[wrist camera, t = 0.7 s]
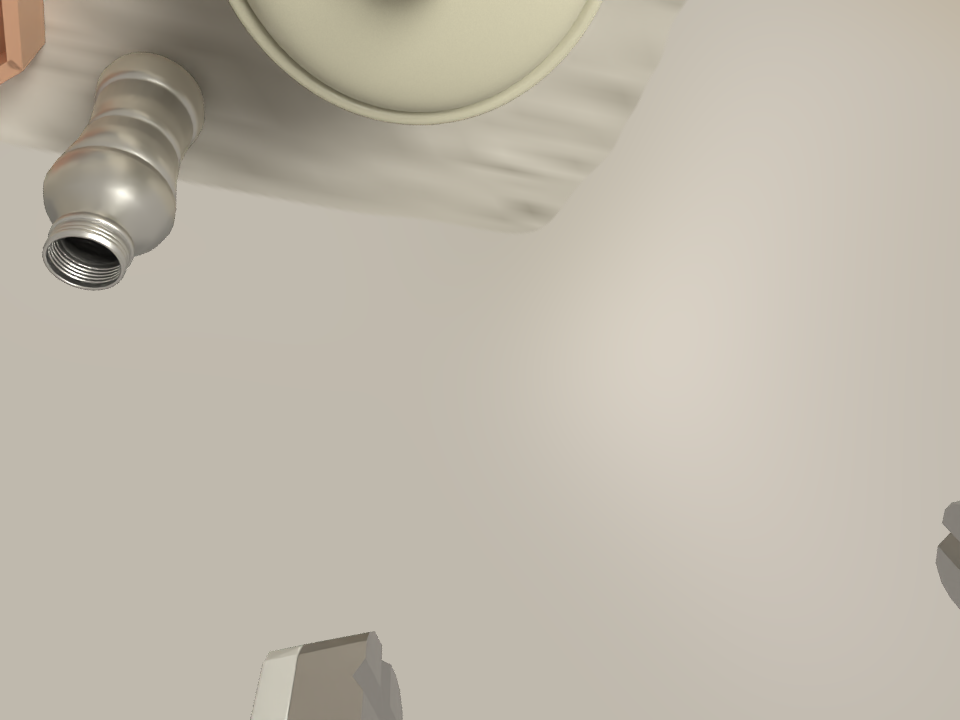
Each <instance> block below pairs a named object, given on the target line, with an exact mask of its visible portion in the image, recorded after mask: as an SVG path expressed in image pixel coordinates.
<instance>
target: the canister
mask: <svg viewBox="0 0 960 720" xmlns="http://www.w3.org/2000/svg"><path fill="white" fill-rule="evenodd" d="M228 1H229V3H230V5H231V7H232V8H233V10H234V12H235V13H236V15H237V17H238V18H239V20H240V21H241V23H242V24H243V26H244V27H245V28H246V30H247V31H248V32H249V34H250V35H251V36H252V38H253V39H254V40H255V41H256V43H257V44H258V45H259V46H260V47H261V49H262V50H263V51H264V52H265V53H266V54H267V55H268V56H269V57H270V58H271V59H272V60H273V61H274V62H275V63H276V64H277V65H278V66H279V67H280V68H281V69H282V70H283V71H284V72H286V73H287V74H288V75H289V76H290V77H292V78H293V79H294V80H295V81H297V82H298V83H299V84H301V85H302V86H303V87H305V88H306V89H308V90H309V91H311V92H312V93H314V94H315V95H317V96H319V97H320V98H322V99H324V100H326V101H328V102H330V103H332V104H334V105H336V106H338V107H340V108H342V109H344V110H347V111H349V112H352V113H355V114H357V115H360V116H364V117H367V118H371V119H374V120H379V121H383V122H389V123H396V124H406V125H434V124H444V123H450V122H456V121H460V120H465V119H468V118H472V117H475V116H478V115H481V114H484V113H487V112H489V111H492V110H494V109H496V108H498V107H500V106H503V105H505V104H506V103H508V102H510V101H512V100H514V99H515V98H517V97H519V96H520V95H522V94H523V93H525V92H526V91H528V90H529V89H531V88H532V87H533V86H535V85H536V84H537V83H539V82H540V81H541V80H542V79H543V78H545V77H546V76H547V75H548V74H549V73H550V72H551V71H552V70H553V69H554V68H555V67H556V66H557V65H558V64H559V63H560V62H561V61H562V60H563V59H564V58H565V57H566V56H567V55H568V53H569V52H570V51H571V50H572V49H573V47H574V46H575V45H576V44H577V42H578V41H579V40H580V38H581V37H582V35H583V34H584V32H585V31H586V29H587V28H588V26H589V25H590V23H591V21H592V20H593V18H594V16H595V15H596V13H597V11H598V9H599V7H600V5H601V3H602V1H603V0H228Z"/></svg>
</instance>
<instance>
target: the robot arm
mask: <svg viewBox="0 0 960 720" xmlns="http://www.w3.org/2000/svg"><path fill="white" fill-rule="evenodd" d="M942 523H943V525H944V526H945V527H946V528H947V529H948V530H949V531H950V532H951V533H950V534H949V535H948V536H947V537H946V538H945V539H944V540H943V541H942V542H941V543H940V544H939V545H938V549H937V558H936V565H937V569H938V572H939V575H940V579H941V582H942V584H943V586H944V588H945V589H946V591H947V593H948V595H949V596H950V598H951V599H952V600H953V601H954V603H955V604H956V605H957V606H958V608H959V609H960V501H957V502H953V503H951V504H950V505H949V506H948V507H947V508H946V509H945V513H944V517H943V522H942ZM381 659H382V645H381V643H380V641H379V639H378V637H377V635H376V633H375V632H367V633H362V634H357V635H352V636H346V637H341V638H336V639H331V640H325V641H320V642H315V643H310V644H304V645H300V646H295V647H290V648H285V649H281V650H276V651H271V652H269V653H268V655H267V657H266V659H265V661H264V662H263V664H262V668H261V673H260V678H259V682H258V687H257V691H256V696H255V701H254V705H253V710H252V714H251V719H250V720H402V705H401V696H400V689H399V686H398V682H397V678H396V675H395V673H394V671H393V668H392V666H391V665H390V664H388V663H386V662H384V661H382V660H381Z"/></svg>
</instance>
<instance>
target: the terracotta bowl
mask: <svg viewBox="0 0 960 720" xmlns="http://www.w3.org/2000/svg"><path fill="white" fill-rule="evenodd" d="M44 44H45V26H44V6H43V0H0V84H2V83H3V82H5V81H7V80H9V79H10V78H12V77H14V76H15V75H17V74H19V73H20V72H22V71H23V70H24V69H25V68H26V67H27V65H28V64H29V63H30V61H31V60H32V59H33V58H34V56H35V55H36V54H37V53H38V51H39V50H40V49H41V47H42V46H43V45H44Z"/></svg>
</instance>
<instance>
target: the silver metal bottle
mask: <svg viewBox="0 0 960 720" xmlns="http://www.w3.org/2000/svg"><path fill="white" fill-rule="evenodd" d="M204 120H205V110H204V100H203V96H202V92H201V90H200V88H199V86H198V84H197V83H196V81H195V80H194V78H193V77H192V76H191V75H190V74H189V73H188V72H187V71H186V70H185V69H184V68H183V67H181V66H180V65H179V64H177V63H176V62H174V61H172V60H170V59H168V58H166V57H164V56H161V55H158V54H154V53H148V52H135V53H130V54H126V55H124V56H122V57H120V58H118V59H117V60H116V61H114V62H113V63H112V64H110V65H109V66H108V67H106V68H105V70H104V71H103V72H102V74H101V75H100V78H99V80H98V83H97V87H96V92H95V106H94V109H93V112H92V116H91V119H90V122H89V123H88V125H87V126H86V128H85V130H84V131H83V132H82V134H81V135H80V137H79V138H78V140H77V141H76V142H74V143H73V144H72V145H71V146H70V147H69V148H68V149H67V150H66V151H65V152H64V153H63V154H62V155H61V157H59V158H58V159H57V161H56V162H55V163H54V165H53V166H52V167H51V169H50V170H49V171H48V173H47V175H46V177H45V180H44V185H43V197H44V205H45V209H46V212H47V214H48V216H49V218H50V220H51V222H52V224H53V225H52V227H51V229H50V231H49V234H48V239H47V241H46V243H45V245H44V247H43V254H42V257H43V261H44V263H45V265H46V267H47V268H48V270H49V271H50V272H51V273H52V274H53V275H54V276H55V277H56V278H58V279H60V280H61V281H63V282H64V283H67V284H69V285H71V286H74V287H77V288H80V289H85V290H103V289H108V288H111V287H113V286H114V285H116V284H118V283H119V281H120V280H121V279H122V278H123V276H124V274H125V272H126V269H127V268H128V267H129V266H130V264H131V262H132V260H133V258H134V257H135V256H138V255H141V254H144V253H147V252H149V251H151V250H152V249H154V248H155V247H157V246H158V245H159V244H160V243H161V242H162V241H163V240H164V239H165V238H166V237H167V236H168V235H169V233H170V231H171V229H172V227H173V224H174V219H175V212H176V187H177V178H178V173H179V168H180V163H181V161H182V159H183V157H184V155H185V153H186V151H187V149H188V148H189V147H190V146H191V145H192V144H193V143H194V142H195V140H196V138H197V137H198V135H199V134H200V132H201V130H202V128H203V125H204Z"/></svg>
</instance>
